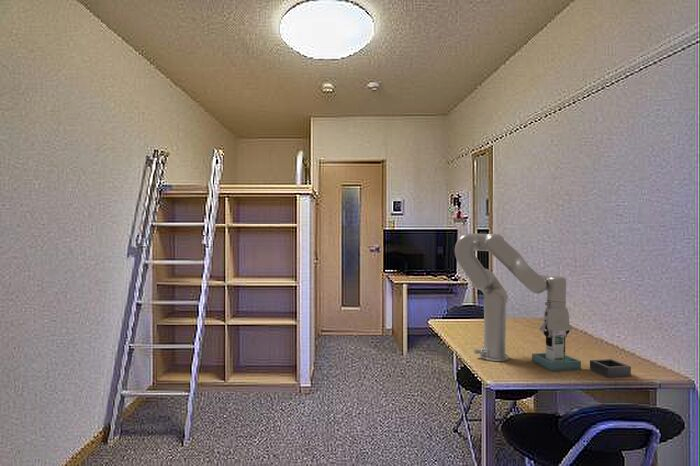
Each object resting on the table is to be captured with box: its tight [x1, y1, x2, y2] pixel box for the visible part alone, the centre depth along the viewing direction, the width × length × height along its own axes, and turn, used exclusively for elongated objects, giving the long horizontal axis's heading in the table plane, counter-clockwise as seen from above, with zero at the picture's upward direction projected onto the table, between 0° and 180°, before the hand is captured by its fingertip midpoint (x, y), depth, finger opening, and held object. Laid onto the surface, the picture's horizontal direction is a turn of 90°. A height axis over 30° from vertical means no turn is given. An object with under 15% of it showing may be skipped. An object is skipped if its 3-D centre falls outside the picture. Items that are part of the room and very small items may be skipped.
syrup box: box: [545, 331, 566, 362], centre depth 198 cm, size 6×6×14 cm
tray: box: [531, 352, 582, 372], centre depth 198 cm, size 14×14×4 cm
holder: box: [589, 358, 632, 379], centre depth 189 cm, size 10×10×4 cm
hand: (555, 345), depth 198 cm, fingers closed on syrup box, 5 cm apart
